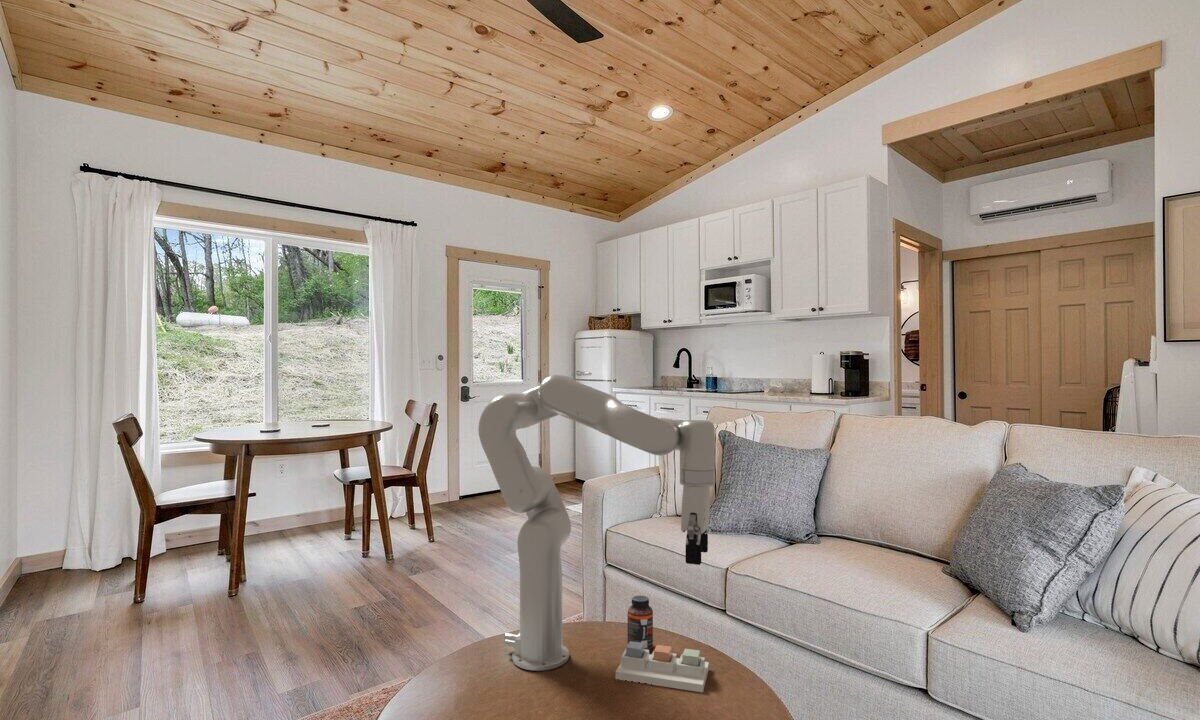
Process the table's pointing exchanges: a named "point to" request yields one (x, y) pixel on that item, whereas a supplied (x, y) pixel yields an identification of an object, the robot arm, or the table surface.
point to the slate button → (635, 649)
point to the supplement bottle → (640, 622)
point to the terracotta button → (663, 653)
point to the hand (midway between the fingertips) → (697, 557)
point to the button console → (663, 672)
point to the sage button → (691, 657)
